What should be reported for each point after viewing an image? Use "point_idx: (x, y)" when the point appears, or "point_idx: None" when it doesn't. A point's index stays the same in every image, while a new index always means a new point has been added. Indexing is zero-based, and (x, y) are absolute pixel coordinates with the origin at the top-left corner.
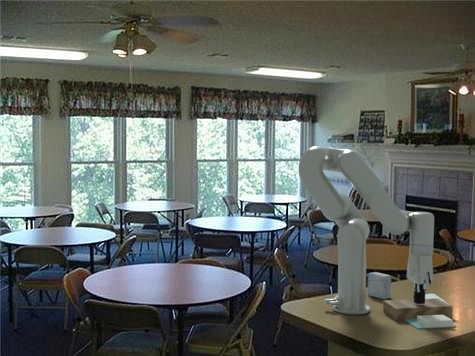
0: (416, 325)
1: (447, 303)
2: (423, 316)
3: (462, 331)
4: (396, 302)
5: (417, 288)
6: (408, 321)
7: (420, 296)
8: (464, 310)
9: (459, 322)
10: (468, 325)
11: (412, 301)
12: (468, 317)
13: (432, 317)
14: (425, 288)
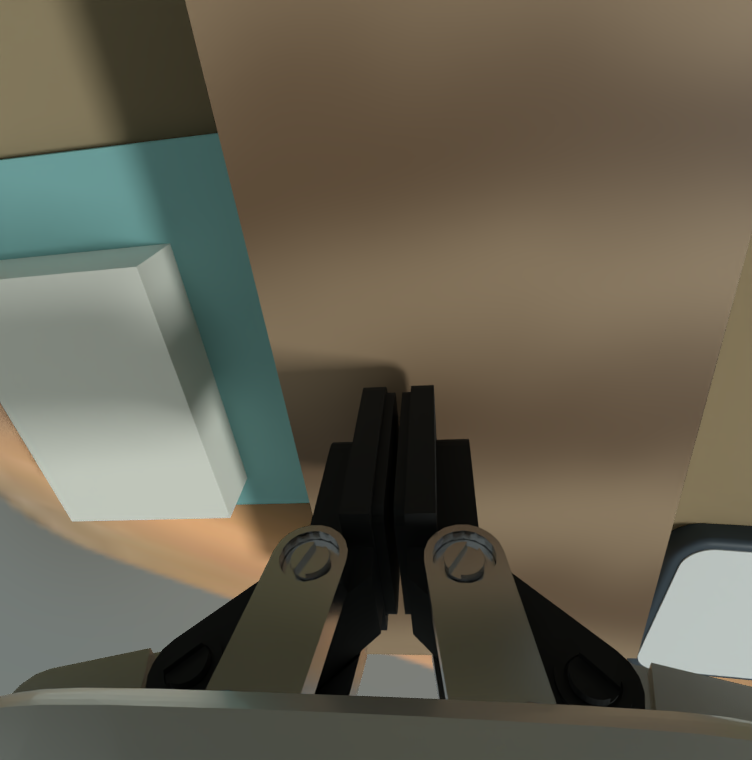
0: (31, 187)
1: (683, 667)
2: (125, 330)
3: (34, 497)
4: (600, 126)
5: (311, 596)
6: (167, 144)
7: (321, 507)
8: None
9: (253, 559)
10: (189, 576)
11: (592, 404)
12: None
13: (112, 403)
14: (28, 687)
